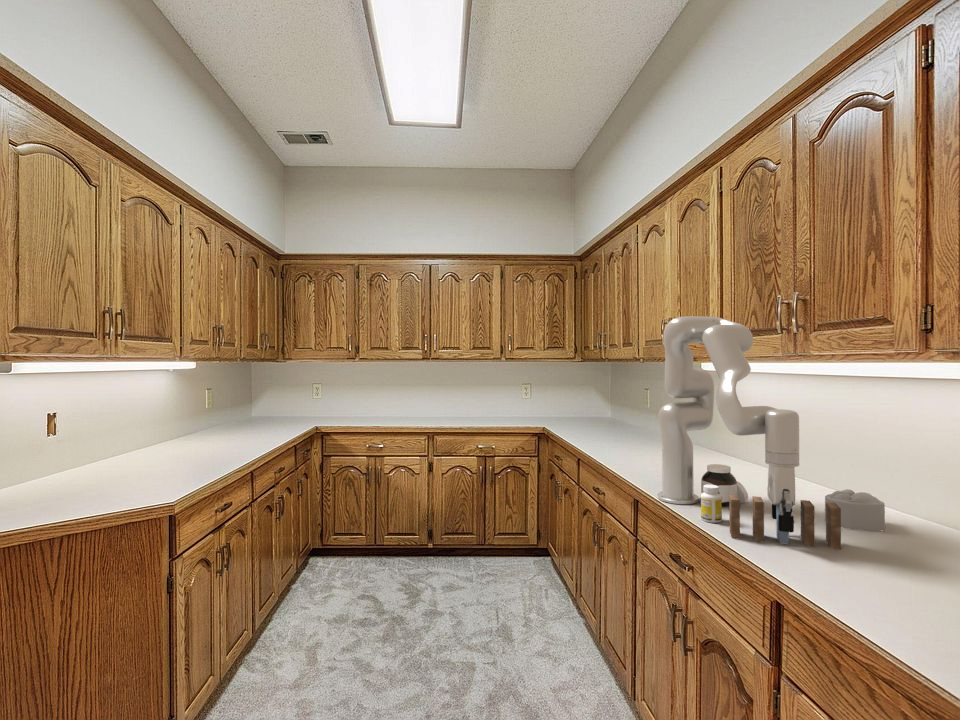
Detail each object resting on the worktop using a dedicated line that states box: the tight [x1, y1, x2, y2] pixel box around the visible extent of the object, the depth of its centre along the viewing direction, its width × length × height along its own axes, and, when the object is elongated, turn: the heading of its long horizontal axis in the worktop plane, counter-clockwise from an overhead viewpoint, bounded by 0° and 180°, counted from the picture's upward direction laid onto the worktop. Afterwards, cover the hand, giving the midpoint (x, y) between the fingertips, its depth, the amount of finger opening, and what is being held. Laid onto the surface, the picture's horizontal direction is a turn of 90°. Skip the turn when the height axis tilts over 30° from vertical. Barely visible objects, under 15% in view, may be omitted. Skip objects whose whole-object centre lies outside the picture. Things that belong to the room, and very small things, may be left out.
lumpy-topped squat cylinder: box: [824, 489, 886, 532], centre depth 143 cm, size 10×13×9 cm
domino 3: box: [800, 499, 816, 548], centre depth 130 cm, size 2×5×10 cm, turn 159°
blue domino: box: [775, 502, 790, 545], centre depth 132 cm, size 2×5×10 cm, turn 158°
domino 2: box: [751, 496, 765, 542], centre depth 134 cm, size 2×5×10 cm, turn 159°
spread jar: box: [700, 463, 749, 507], centre depth 165 cm, size 12×11×12 cm
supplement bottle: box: [700, 485, 723, 524], centre depth 148 cm, size 5×5×10 cm
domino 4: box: [825, 502, 842, 550], centre depth 128 cm, size 2×5×10 cm, turn 159°
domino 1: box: [728, 495, 741, 539], centre depth 136 cm, size 2×5×10 cm, turn 159°
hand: (782, 525), depth 132 cm, fingers open, 9 cm apart
